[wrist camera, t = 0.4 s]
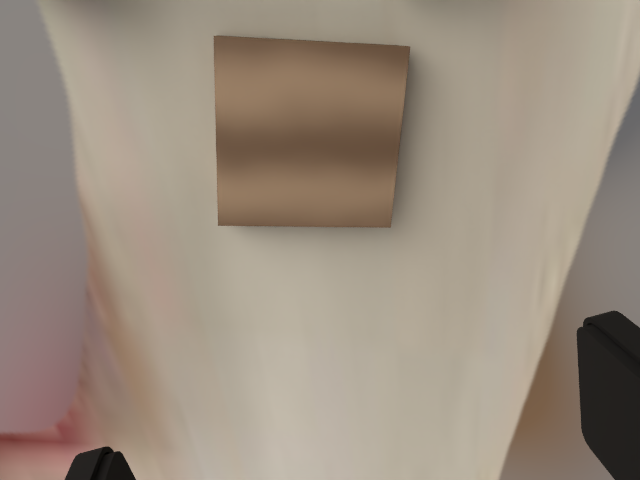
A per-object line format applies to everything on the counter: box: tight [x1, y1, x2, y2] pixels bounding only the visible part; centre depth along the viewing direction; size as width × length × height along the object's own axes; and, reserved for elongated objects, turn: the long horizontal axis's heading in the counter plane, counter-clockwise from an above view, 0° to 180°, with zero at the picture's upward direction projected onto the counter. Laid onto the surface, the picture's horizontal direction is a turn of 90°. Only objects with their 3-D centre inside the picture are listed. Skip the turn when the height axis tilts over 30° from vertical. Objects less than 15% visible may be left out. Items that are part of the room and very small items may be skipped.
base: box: [214, 36, 410, 227], centre depth 35 cm, size 12×12×3 cm
